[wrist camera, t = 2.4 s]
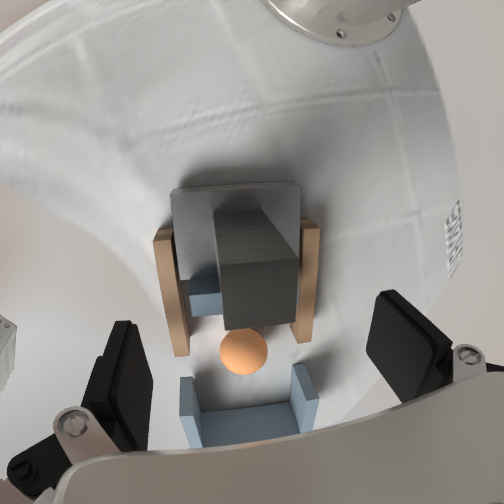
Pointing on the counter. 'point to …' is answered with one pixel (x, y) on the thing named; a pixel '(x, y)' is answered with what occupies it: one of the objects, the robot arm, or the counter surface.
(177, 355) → the rail
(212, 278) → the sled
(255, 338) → the ball
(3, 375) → the skincare box
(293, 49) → the counter surface
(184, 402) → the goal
